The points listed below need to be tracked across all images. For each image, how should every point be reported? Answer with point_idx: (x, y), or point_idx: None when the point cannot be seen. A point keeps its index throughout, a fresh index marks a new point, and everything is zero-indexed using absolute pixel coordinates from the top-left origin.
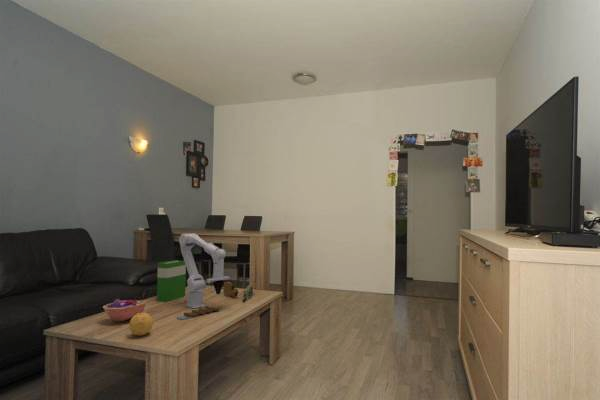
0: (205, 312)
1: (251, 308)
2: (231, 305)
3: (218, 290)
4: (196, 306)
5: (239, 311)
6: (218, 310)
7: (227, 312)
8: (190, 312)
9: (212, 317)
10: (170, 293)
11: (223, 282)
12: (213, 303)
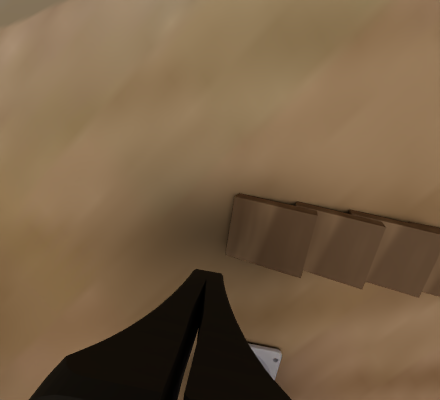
0: (361, 215)
1: (41, 26)
2: (89, 218)
3: (224, 299)
4: (259, 358)
5: (161, 48)
6: (243, 195)
7: (234, 112)
8: (427, 288)
9: (400, 110)
10: None
11: (90, 374)
12: None
